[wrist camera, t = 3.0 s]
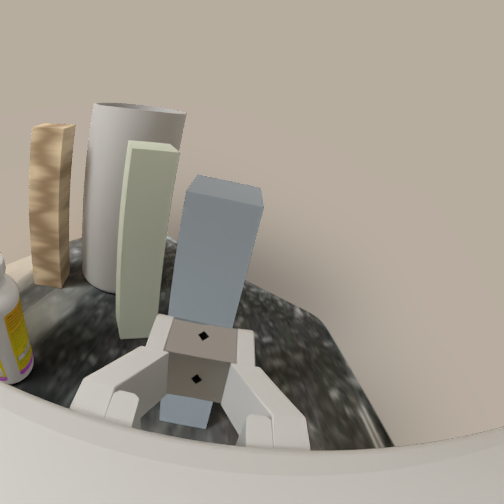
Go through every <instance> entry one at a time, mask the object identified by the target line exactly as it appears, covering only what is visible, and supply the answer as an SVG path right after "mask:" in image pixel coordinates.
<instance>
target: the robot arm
mask: <svg viewBox="0 0 504 504" xmlns="http://www.w3.org/2000/svg"><path fill="white" fill-rule="evenodd" d="M166 394H172V395H178V396H184V397H190V398H196V399H201V400H206V401H212V402H217V403H221V406H222V408H223V409H224V411H225V413H226V414H227V416H228V418H229V419H230V421H231V423H232V425H233V426H234V428H235V430H236V431H237V433H238V434H239V437H238V440H237V443H236V445H235V446H232V445H224V444H216V443H209V442H202V441H196V440H190V439H184V438H178V437H173V436H168V435H163V434H158V433H154V432H149V431H145V430H141V423H140V418H141V417H142V416H143V415H144V414H146V413H147V412H148V411H149V410H150V409H151V408H152V407H153V406H154V405H156V404H157V403H158V402H159V401H160V400H161V399H162V398H163V397H165V396H166ZM0 504H504V426H503V427H500V428H496V429H493V430H489V431H485V432H480V433H476V434H472V435H467V436H462V437H457V438H452V439H447V440H441V441H435V442H429V443H422V444H415V445H406V446H397V447H387V448H375V449H359V450H310V443H309V437H308V431H307V424H306V418H305V417H304V416H303V415H302V414H301V412H300V411H299V410H298V409H297V408H296V407H295V406H294V405H293V404H292V403H291V402H290V400H289V399H288V398H287V397H286V396H285V395H284V394H283V393H282V392H281V391H280V389H279V388H278V387H277V386H276V385H275V384H274V383H273V382H272V380H271V379H270V378H269V377H268V376H267V375H266V374H265V372H264V371H263V370H262V369H261V368H260V367H255V345H254V332H253V331H252V330H245V329H234V328H228V327H222V326H216V325H211V324H206V323H201V322H196V321H192V320H187V319H182V318H178V317H173V316H168V315H163V314H158V315H157V317H156V319H155V322H154V324H153V327H152V330H151V333H150V335H149V338H148V341H147V343H146V346H145V347H144V346H140V347H138V348H136V349H134V350H133V351H131V352H129V353H127V354H126V355H124V356H122V357H120V358H119V359H117V360H115V361H113V362H112V363H110V364H108V365H106V366H105V367H103V368H101V369H99V370H98V371H96V372H94V373H92V374H90V375H89V376H87V377H85V378H83V381H82V383H81V385H80V387H79V389H78V391H77V393H76V395H75V397H74V400H73V402H72V404H71V406H70V408H69V409H68V408H65V407H63V406H60V405H57V404H54V403H52V402H49V401H46V400H44V399H41V398H39V397H36V396H34V395H31V394H29V393H27V392H24V391H22V390H20V389H17V388H15V387H13V386H11V385H8V384H6V383H4V382H2V381H0Z"/></svg>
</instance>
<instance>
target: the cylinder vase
mask: <svg viewBox="0 0 504 504" xmlns="http://www.w3.org/2000/svg"><path fill="white" fill-rule="evenodd" d="M185 118H186V113H184V112H181V111H176V110H171V109H166V108H159V107H152V106H144V105H135V104H123V103H94V106H93V112H92V119H91V126H90V133H89V141H88V150H87V159H86V170H85V182H84V198H83V224H82V269H83V274H84V276H85V278H86V280H87V281H88V282H89V283H90V284H91V285H93V286H94V287H96V288H98V289H100V290H102V291H105V292H109V293H114V294H116V267H117V245H118V229H119V216H120V204H121V194H122V185H123V176H124V168H125V160H126V153H127V146H128V140H132V141H144V142H155V143H165V144H171V145H172V146H173V147H174V148H176V149H177V150H178V151H179V148H180V143H181V138H182V133H183V128H184V123H185Z"/></svg>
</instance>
